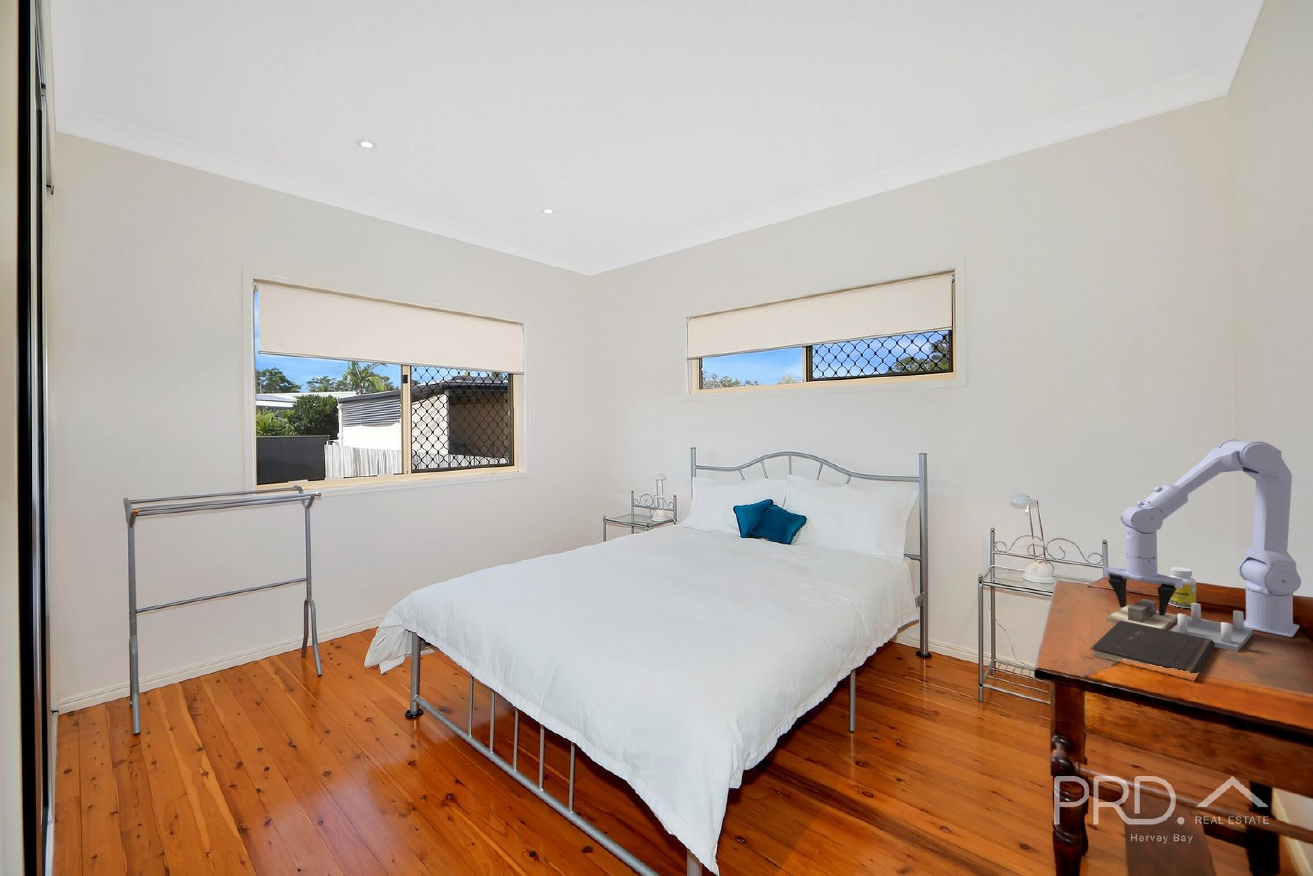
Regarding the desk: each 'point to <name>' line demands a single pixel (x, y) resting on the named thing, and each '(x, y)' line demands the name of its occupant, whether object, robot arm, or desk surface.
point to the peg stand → (1215, 629)
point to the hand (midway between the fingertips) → (1142, 610)
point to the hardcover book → (1154, 647)
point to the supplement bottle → (1183, 588)
